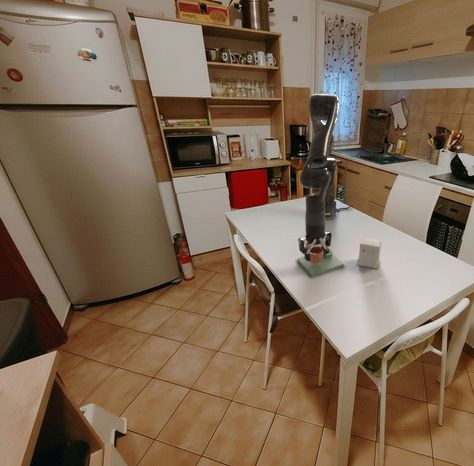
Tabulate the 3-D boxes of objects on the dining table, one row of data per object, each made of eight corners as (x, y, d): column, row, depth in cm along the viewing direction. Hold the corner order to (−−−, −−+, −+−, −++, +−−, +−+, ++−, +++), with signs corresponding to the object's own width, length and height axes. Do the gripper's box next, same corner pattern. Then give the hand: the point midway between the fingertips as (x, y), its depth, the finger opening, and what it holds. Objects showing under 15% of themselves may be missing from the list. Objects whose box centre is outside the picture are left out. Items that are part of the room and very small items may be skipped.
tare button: (326, 249, 116) (326, 246, 116) (330, 252, 114) (330, 249, 113) (320, 251, 115) (320, 247, 114) (324, 254, 112) (324, 251, 112)
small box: (379, 261, 113) (381, 240, 108) (377, 269, 108) (380, 247, 103) (360, 258, 115) (362, 237, 110) (357, 265, 110) (359, 243, 105)
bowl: (318, 253, 111) (318, 244, 109) (326, 261, 106) (326, 251, 104) (304, 257, 108) (304, 248, 106) (312, 265, 103) (312, 255, 101)
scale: (327, 252, 119) (327, 246, 118) (343, 266, 109) (344, 260, 108) (297, 261, 113) (297, 255, 111) (312, 277, 103) (312, 271, 101)
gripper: (302, 229, 93) (303, 267, 101) (336, 220, 99) (335, 257, 107) (293, 221, 99) (295, 258, 106) (326, 213, 105) (325, 249, 113)
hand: (315, 257), depth 107 cm, fingers closed on bowl, 6 cm apart
